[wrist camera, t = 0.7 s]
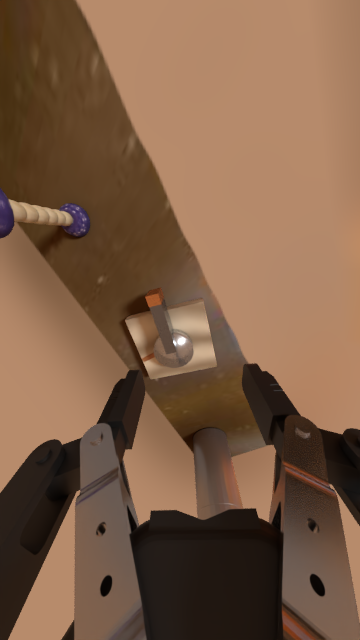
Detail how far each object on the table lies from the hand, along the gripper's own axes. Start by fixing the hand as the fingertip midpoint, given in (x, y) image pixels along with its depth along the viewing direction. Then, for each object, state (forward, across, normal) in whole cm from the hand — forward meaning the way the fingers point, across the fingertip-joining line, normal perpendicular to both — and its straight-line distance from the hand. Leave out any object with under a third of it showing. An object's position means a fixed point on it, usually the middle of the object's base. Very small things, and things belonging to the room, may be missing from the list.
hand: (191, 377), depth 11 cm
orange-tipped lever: (+18, +3, +5) cm, 19 cm away
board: (+20, +3, +9) cm, 22 cm away
